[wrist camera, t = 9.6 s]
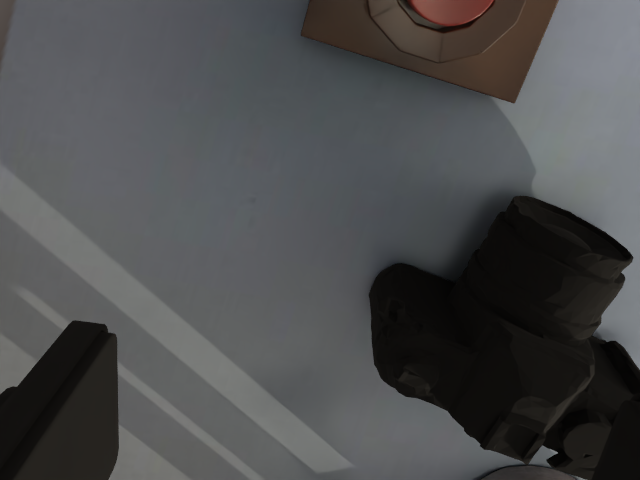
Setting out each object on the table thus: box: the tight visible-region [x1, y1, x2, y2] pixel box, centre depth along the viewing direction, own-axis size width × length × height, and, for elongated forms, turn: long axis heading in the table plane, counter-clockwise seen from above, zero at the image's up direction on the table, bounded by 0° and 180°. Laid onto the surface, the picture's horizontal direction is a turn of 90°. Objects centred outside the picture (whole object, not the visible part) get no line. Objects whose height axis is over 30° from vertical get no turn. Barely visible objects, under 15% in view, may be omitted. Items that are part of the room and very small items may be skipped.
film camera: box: [369, 196, 640, 480], centre depth 28 cm, size 15×10×9 cm, turn 68°
